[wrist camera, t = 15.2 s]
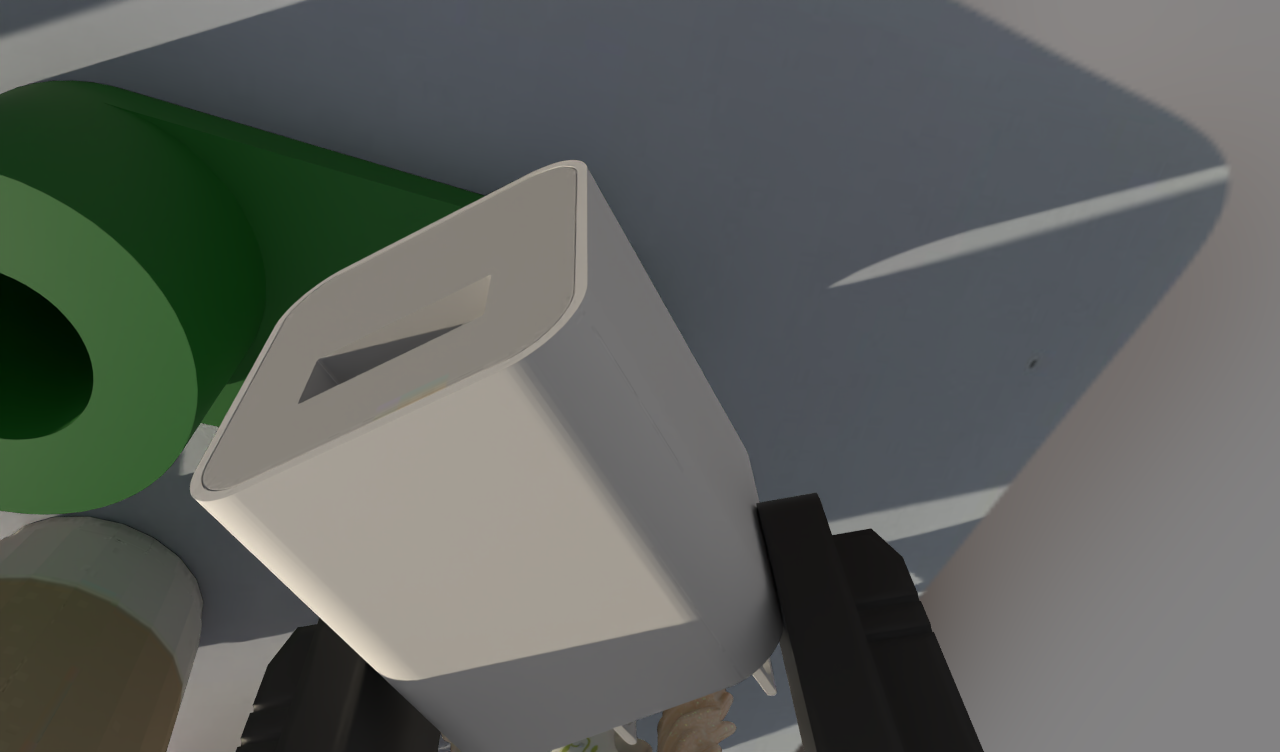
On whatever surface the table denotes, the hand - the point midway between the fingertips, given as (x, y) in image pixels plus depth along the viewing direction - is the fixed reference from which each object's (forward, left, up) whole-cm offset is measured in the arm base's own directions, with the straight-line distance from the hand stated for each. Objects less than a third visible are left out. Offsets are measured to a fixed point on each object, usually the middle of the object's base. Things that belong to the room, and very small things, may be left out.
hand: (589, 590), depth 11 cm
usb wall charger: (-1, 0, -2) cm, 2 cm away
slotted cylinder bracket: (+2, -10, -17) cm, 19 cm away
